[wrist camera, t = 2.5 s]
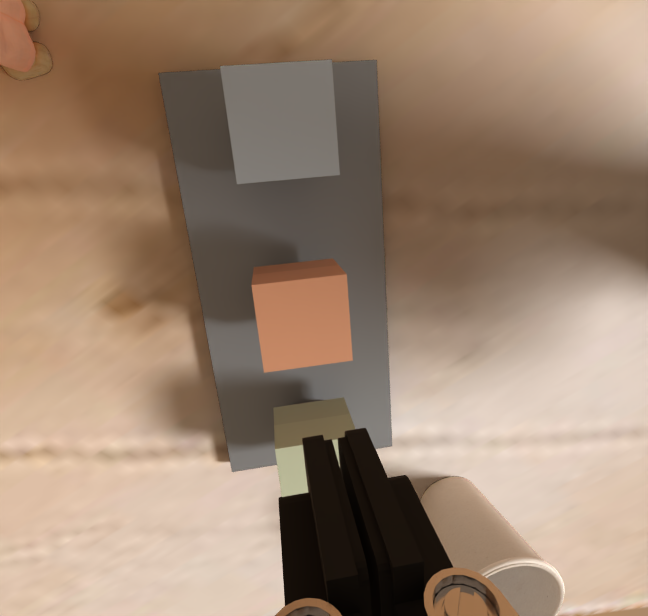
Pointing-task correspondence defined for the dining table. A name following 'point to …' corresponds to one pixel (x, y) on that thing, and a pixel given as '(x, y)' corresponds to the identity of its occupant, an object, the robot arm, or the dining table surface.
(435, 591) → the robot arm
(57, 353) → the dining table surface
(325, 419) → the button sage
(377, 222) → the button board
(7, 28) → the grandmother figurine
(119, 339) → the dining table surface
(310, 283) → the button terracotta
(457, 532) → the dixie cup
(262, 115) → the button slate
